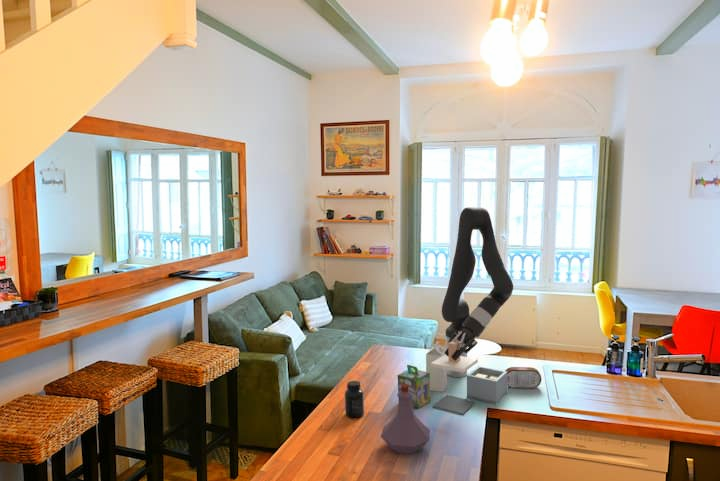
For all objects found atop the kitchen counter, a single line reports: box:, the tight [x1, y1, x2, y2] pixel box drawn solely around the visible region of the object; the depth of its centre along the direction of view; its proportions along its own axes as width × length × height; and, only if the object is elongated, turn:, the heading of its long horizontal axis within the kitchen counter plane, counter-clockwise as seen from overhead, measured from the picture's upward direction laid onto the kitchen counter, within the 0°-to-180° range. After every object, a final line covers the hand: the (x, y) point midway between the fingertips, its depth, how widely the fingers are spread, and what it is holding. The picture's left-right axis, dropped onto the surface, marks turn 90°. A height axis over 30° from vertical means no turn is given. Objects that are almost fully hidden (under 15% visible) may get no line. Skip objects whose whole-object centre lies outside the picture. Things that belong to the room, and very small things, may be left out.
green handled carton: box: [397, 364, 431, 410], centre depth 186 cm, size 9×9×15 cm
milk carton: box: [425, 340, 448, 393], centre depth 198 cm, size 7×7×19 cm
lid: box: [431, 341, 479, 373], centre depth 181 cm, size 13×13×8 cm
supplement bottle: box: [344, 380, 365, 419], centre depth 176 cm, size 7×7×12 cm
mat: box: [432, 394, 477, 416], centre depth 183 cm, size 12×12×1 cm
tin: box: [504, 366, 542, 390], centre depth 197 cm, size 15×3×8 cm, turn 84°
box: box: [466, 365, 508, 405], centre depth 190 cm, size 12×12×9 cm
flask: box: [380, 384, 431, 455], centre depth 153 cm, size 16×16×20 cm
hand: (449, 356), depth 180 cm, fingers closed on lid, 4 cm apart
